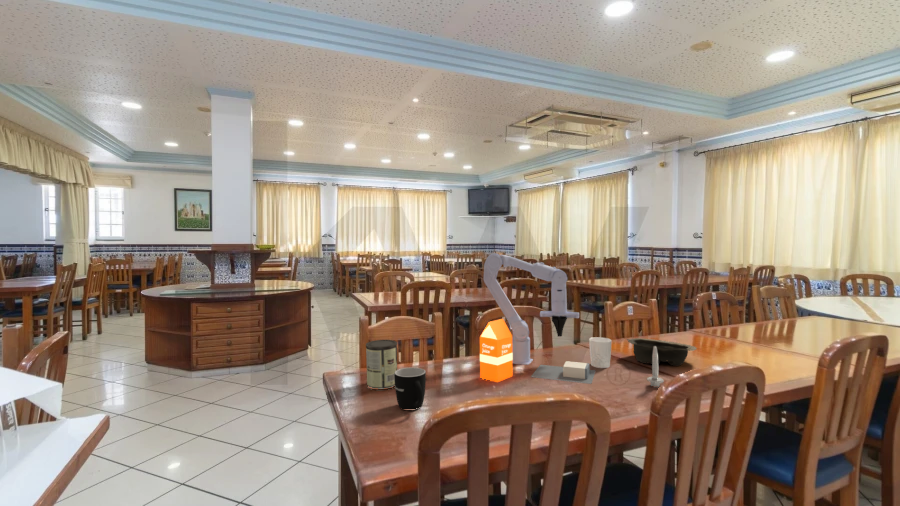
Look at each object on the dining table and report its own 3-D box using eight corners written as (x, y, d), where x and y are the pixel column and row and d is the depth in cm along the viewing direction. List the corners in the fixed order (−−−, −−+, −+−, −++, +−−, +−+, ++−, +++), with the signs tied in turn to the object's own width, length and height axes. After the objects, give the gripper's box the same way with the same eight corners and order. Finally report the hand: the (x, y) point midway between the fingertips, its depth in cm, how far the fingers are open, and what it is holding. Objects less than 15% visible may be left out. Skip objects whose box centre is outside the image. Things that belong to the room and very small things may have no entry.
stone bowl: (630, 367, 160) (629, 341, 160) (623, 355, 183) (623, 333, 184) (706, 371, 152) (705, 344, 153) (689, 358, 176) (688, 335, 177)
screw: (655, 389, 136) (643, 384, 141) (667, 387, 138) (654, 382, 142) (655, 348, 136) (643, 345, 140) (667, 346, 138) (654, 343, 142)
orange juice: (479, 378, 150) (479, 320, 149) (495, 372, 156) (494, 317, 155) (498, 383, 144) (497, 323, 144) (513, 377, 151) (512, 319, 150)
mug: (390, 404, 127) (389, 370, 126) (418, 398, 131) (418, 365, 131) (406, 419, 116) (405, 381, 116) (436, 412, 120) (435, 376, 120)
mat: (530, 377, 149) (530, 377, 149) (540, 365, 164) (540, 364, 164) (591, 384, 141) (591, 383, 141) (595, 371, 156) (595, 370, 156)
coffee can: (376, 379, 150) (375, 338, 150) (403, 381, 147) (402, 340, 147) (360, 388, 141) (359, 345, 140) (389, 391, 137) (388, 347, 137)
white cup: (608, 363, 166) (608, 337, 165) (614, 369, 158) (614, 342, 158) (587, 363, 166) (587, 337, 166) (591, 369, 159) (591, 341, 158)
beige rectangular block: (563, 366, 149) (587, 368, 146) (566, 361, 156) (589, 363, 153) (563, 376, 149) (587, 379, 146) (566, 370, 156) (589, 373, 153)
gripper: (537, 301, 166) (538, 337, 166) (577, 302, 160) (578, 339, 160) (541, 299, 172) (542, 333, 173) (579, 300, 166) (580, 335, 167)
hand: (559, 335), depth 167 cm, fingers closed
